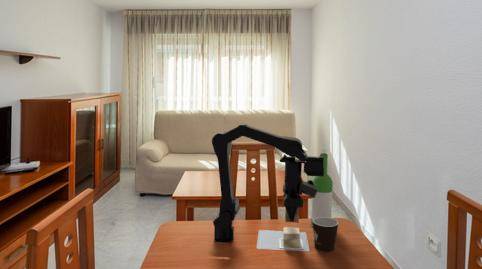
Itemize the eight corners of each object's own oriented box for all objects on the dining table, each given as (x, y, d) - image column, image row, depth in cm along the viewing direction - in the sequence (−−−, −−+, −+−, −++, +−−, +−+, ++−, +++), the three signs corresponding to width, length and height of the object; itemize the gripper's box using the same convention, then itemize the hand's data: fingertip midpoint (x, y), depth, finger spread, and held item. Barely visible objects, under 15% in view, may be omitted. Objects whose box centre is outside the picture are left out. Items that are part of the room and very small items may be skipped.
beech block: (283, 247, 123) (283, 233, 122) (283, 240, 128) (283, 227, 128) (299, 247, 122) (299, 234, 122) (298, 241, 128) (298, 227, 127)
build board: (256, 250, 122) (256, 247, 122) (258, 231, 137) (258, 229, 137) (309, 253, 120) (309, 250, 120) (305, 233, 136) (305, 231, 136)
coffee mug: (337, 256, 118) (339, 227, 116) (311, 253, 119) (312, 225, 118) (335, 241, 129) (337, 215, 128) (311, 239, 131) (312, 213, 129)
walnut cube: (285, 222, 122) (285, 209, 122) (285, 217, 127) (285, 205, 126) (298, 222, 122) (299, 210, 121) (297, 217, 126) (298, 205, 126)
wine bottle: (306, 226, 143) (309, 153, 139) (319, 222, 147) (322, 151, 143) (321, 233, 136) (325, 156, 132) (334, 228, 141) (338, 154, 137)
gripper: (319, 183, 112) (317, 230, 114) (313, 169, 130) (312, 210, 132) (284, 181, 113) (283, 228, 115) (283, 168, 131) (282, 208, 134)
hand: (291, 218), depth 124 cm, fingers closed on walnut cube, 4 cm apart
